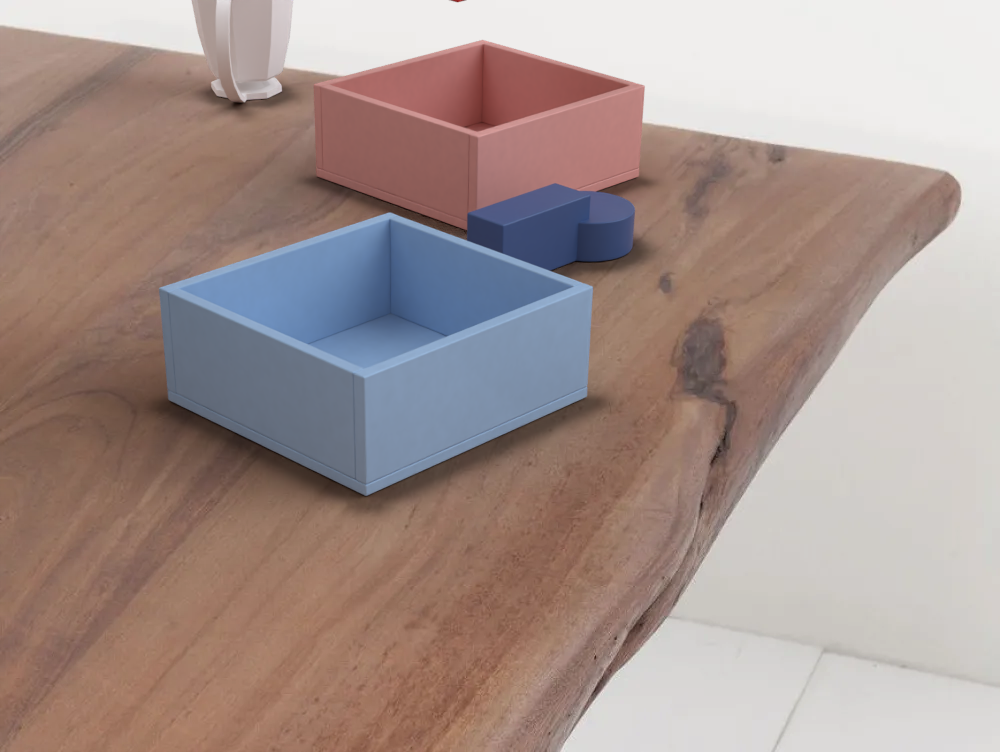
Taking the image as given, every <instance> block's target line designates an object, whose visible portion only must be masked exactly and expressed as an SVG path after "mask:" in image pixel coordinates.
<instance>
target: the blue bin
mask: <svg viewBox="0 0 1000 752" xmlns="http://www.w3.org/2000/svg"><path fill="white" fill-rule="evenodd" d="M158 294H159V306H160V318H161V331H162V342H163V353H164V354H163V355H164V365H165V377H166V389H167V399H168V401H170V402H171V403H173V404H175V405H178V406H180V407H182V408H184V409H186V410H188V411H190V412H192V413H194V414H197V415H199V416H201V417H203V418H204V419H206V420H209V421H211V422H212V423H214V424H217V425H219V426H221V427H223V428H225V429H227V430H228V431H229V430H230V431H232V432H233V433H236V434H237V435H239V436H241V437H244V438H246V439H248V440H250V441H252V442H254V443H256V444H258V445H260V446H262V447H264V448H266V449H269V450H270V451H273V452H275V453H277V454H279V455H281V456H283V457H284V458H287V459H289V460H291V461H293V462H295V463H297V464H299V465H301V466H303V467H305V468H307V469H310V470H312V471H314V472H316V473H318V474H320V475H322V476H324V477H326V478H327V479H330V480H332V481H334V482H336V483H338V484H340V485H343V486H344V487H346V488H348V489H350V490H353V491H355V492H356V493H358V494H360V495H363V496H365V497H367V496H370V495H371V494H374V493H376V492H378V491H381V490H383V489H385V488H387V487H389V486H392V485H394V484H396V483H399V482H400V481H403V480H405V479H407V478H409V477H411V476H414V475H416V474H419V473H420V472H423V471H425V470H427V469H430V468H432V467H434V466H436V465H438V464H441V463H443V462H445V461H447V460H450V459H452V458H455V457H457V456H458V455H461V454H463V453H465V452H467V451H470V450H472V449H474V448H476V447H478V446H481V445H483V444H485V443H488V442H489V441H492V440H494V439H496V438H499V437H501V436H503V435H505V434H507V433H510V432H512V431H514V430H516V429H518V428H521V427H523V426H525V425H528V424H529V423H532V422H534V421H536V420H538V419H541V418H543V417H546V416H547V415H549V414H552V413H554V412H556V411H558V410H561V409H563V408H565V407H567V406H570V405H573V403H576V402H578V401H581V400H584V399H586V398H587V397H588V384H589V383H588V382H589V367H590V348H591V330H592V316H593V315H592V311H593V298H594V297H593V296H594V295H593V294H594V287H593V285H589V284H588V283H584V282H581V281H579V280H576V279H573V278H570V277H568V276H565V275H562V274H560V273H556V272H554V271H553V270H551V271H549V270H546V269H543V268H541V267H538V266H535V265H532V264H530V263H527V262H524V261H521V260H519V259H516V258H513V257H510V256H508V255H505V254H502V253H499V252H497V251H494V250H491V249H488V248H486V247H483V246H480V245H477V244H475V243H472V242H469V241H467V239H463V238H461V237H458V236H456V235H453V234H450V233H447V232H444V231H441V230H439V229H437V228H433V227H430V226H428V225H425V224H422V223H419V222H417V221H415V220H411V219H409V218H407V217H403V216H401V215H398V214H395V213H393V212H390V211H389V212H386V213H383V214H379V215H377V216H374V217H371V218H368V219H365V220H362V221H359V222H356V223H355V222H354V223H352V224H350V225H346V226H343V227H340V228H338V229H335V230H331V231H328V232H325V233H321V234H318V235H316V236H313V237H310V238H307V239H304V240H301V241H298V242H297V241H296V242H295V243H292V244H289V245H286V246H283V247H279V248H276V249H274V250H270V251H267V252H264V253H261V254H258V255H256V256H252V257H248V258H246V259H242V260H240V261H237V262H233V263H231V264H228V265H225V266H221V267H217V268H216V269H212V270H209V271H206V272H203V273H200V274H197V275H195V276H191V277H188V278H185V279H181V280H179V281H176V282H173V283H170V284H167V285H163V286H161V287H159V288H158Z"/></svg>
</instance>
